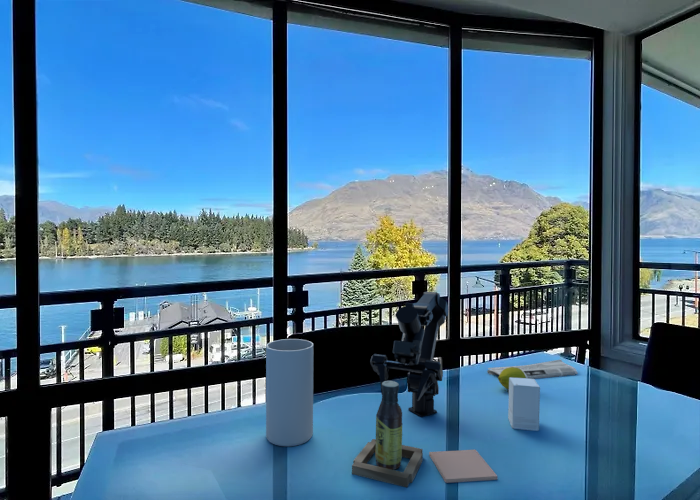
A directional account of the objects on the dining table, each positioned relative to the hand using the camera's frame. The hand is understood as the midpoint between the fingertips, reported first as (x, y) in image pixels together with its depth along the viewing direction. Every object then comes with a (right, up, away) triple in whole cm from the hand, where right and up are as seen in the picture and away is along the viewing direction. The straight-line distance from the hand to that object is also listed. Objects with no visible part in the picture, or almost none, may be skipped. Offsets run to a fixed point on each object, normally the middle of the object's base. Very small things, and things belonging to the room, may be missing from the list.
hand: (399, 397), depth 109 cm
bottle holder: (-3, -14, -7) cm, 16 cm away
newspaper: (+60, -12, +63) cm, 88 cm away
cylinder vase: (-29, -13, +7) cm, 33 cm away
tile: (+14, -14, -7) cm, 21 cm away
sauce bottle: (-3, -14, -7) cm, 16 cm away
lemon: (+45, -13, +44) cm, 64 cm away
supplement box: (+38, -14, +16) cm, 43 cm away
